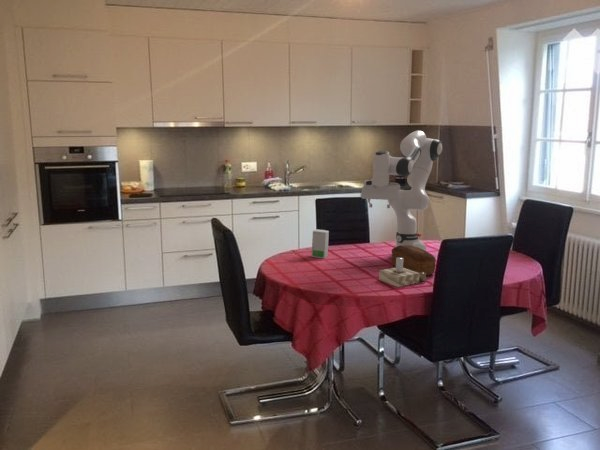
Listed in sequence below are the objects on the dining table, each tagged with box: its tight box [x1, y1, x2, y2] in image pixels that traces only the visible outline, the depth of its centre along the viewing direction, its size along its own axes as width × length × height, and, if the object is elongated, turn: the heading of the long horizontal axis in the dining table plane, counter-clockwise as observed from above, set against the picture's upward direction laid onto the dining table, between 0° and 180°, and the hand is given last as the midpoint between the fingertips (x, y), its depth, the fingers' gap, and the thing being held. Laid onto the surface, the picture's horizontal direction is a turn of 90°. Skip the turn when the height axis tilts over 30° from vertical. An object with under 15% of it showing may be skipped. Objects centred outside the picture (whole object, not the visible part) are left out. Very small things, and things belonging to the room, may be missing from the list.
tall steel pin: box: [395, 257, 404, 274], centre depth 288 cm, size 4×4×12 cm
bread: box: [391, 245, 437, 276], centre depth 310 cm, size 14×28×12 cm, turn 23°
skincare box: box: [311, 228, 330, 259], centre depth 336 cm, size 8×7×16 cm
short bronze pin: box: [419, 272, 427, 283], centre depth 289 cm, size 4×4×4 cm
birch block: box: [378, 267, 420, 288], centre depth 289 cm, size 14×14×5 cm
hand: (379, 207), depth 309 cm, fingers open, 8 cm apart
